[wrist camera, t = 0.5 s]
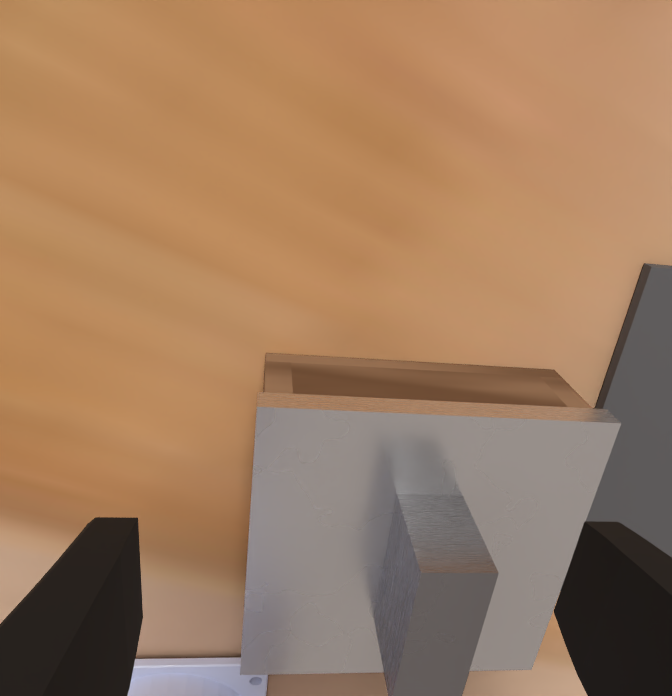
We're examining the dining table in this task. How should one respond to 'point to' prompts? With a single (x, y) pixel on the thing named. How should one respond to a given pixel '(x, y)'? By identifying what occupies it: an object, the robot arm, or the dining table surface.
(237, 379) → the dining table surface
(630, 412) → the dark gray board
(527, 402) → the walnut box
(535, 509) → the lid
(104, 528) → the robot arm
